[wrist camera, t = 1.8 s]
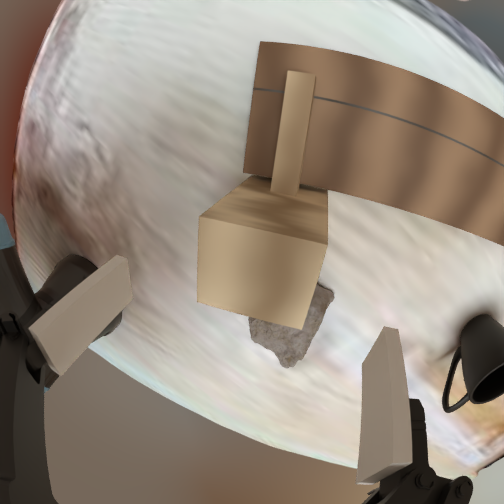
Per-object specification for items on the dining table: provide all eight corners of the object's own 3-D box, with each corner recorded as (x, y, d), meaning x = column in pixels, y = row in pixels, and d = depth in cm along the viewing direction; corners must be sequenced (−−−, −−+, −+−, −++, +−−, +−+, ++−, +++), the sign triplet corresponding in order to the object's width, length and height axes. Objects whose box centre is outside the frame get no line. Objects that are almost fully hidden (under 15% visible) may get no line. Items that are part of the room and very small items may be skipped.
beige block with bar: (246, 231, 28) (197, 301, 18) (266, 76, 20) (216, 41, 10) (314, 247, 27) (301, 329, 16) (345, 89, 19) (364, 58, 9)
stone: (285, 260, 28) (275, 292, 23) (348, 296, 28) (349, 332, 23) (246, 317, 33) (231, 351, 28) (300, 346, 33) (294, 381, 28)
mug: (420, 351, 29) (432, 409, 21) (489, 294, 23) (520, 347, 15) (444, 373, 30) (455, 424, 21) (505, 324, 24) (529, 373, 15)
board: (249, 168, 25) (242, 172, 23) (265, 47, 19) (260, 41, 17) (496, 238, 20) (505, 247, 18) (523, 137, 14) (534, 140, 13)
